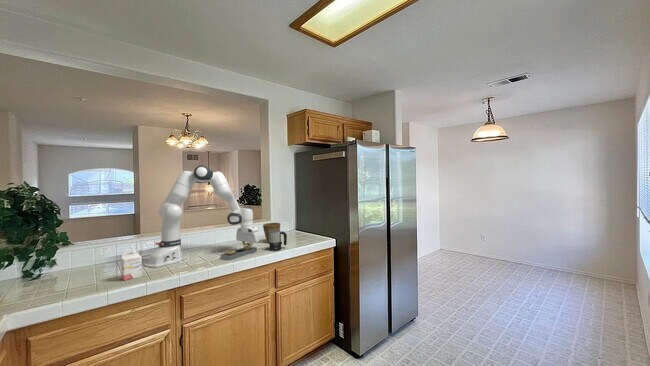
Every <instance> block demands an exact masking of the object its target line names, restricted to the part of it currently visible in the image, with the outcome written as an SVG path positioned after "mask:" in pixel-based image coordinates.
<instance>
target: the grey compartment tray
mask: <svg viewBox="0 0 650 366" xmlns="http://www.w3.org/2000/svg"><path fill="white" fill-rule="evenodd" d="M234 251H236V254H233V255H226V253H225V252H224V253H222V254H220V260H225V261H233V260H235V259H240V258H242V257H245V256H247V255H251V254H254V253H256V252H258V247H255V246H252V249H249V250H245V249H243V247H241V248H238V249H234Z"/></svg>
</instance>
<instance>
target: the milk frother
mask: <svg viewBox="0 0 650 366" xmlns="http://www.w3.org/2000/svg"><path fill="white" fill-rule="evenodd" d="M268 232H269V243H268V244H269V247H268V248H269V249H268V251H269V252H270V251H271V252H278V251H280V250H282V245H284V246H287V241H288V240H287V239H288V236H287V233H286V232H285V231H281V229H280V230H269V231H268ZM282 235H283V242H282V238H281V237H282Z"/></svg>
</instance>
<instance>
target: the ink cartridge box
mask: <svg viewBox="0 0 650 366" xmlns="http://www.w3.org/2000/svg"><path fill="white" fill-rule="evenodd" d="M139 253H140V250H139V249H134V250H129V251H124V252H122V253H121V259H120V261H121V263H120V264H121V267H120V269H121V280H122V281H128V280H133V278H134V279H137V277H138V278H141V276H142V277H143V262H142V261H143V260H142V259H143V258H142V255H140V254H139Z"/></svg>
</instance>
